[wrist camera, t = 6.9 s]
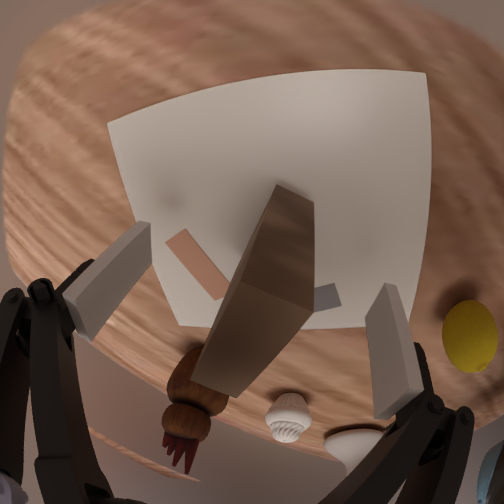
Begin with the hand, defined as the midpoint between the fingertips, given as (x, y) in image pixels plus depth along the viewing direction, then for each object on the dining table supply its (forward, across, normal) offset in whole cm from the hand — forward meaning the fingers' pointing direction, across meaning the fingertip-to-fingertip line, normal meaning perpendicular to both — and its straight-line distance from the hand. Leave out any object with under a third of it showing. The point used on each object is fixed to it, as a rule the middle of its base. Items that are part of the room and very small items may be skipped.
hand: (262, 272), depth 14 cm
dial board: (+7, 0, 0) cm, 7 cm away
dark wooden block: (+5, -1, -3) cm, 6 cm away
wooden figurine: (+7, -4, -19) cm, 21 cm away
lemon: (+7, +19, -4) cm, 21 cm away
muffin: (+7, +8, -25) cm, 27 cm away
